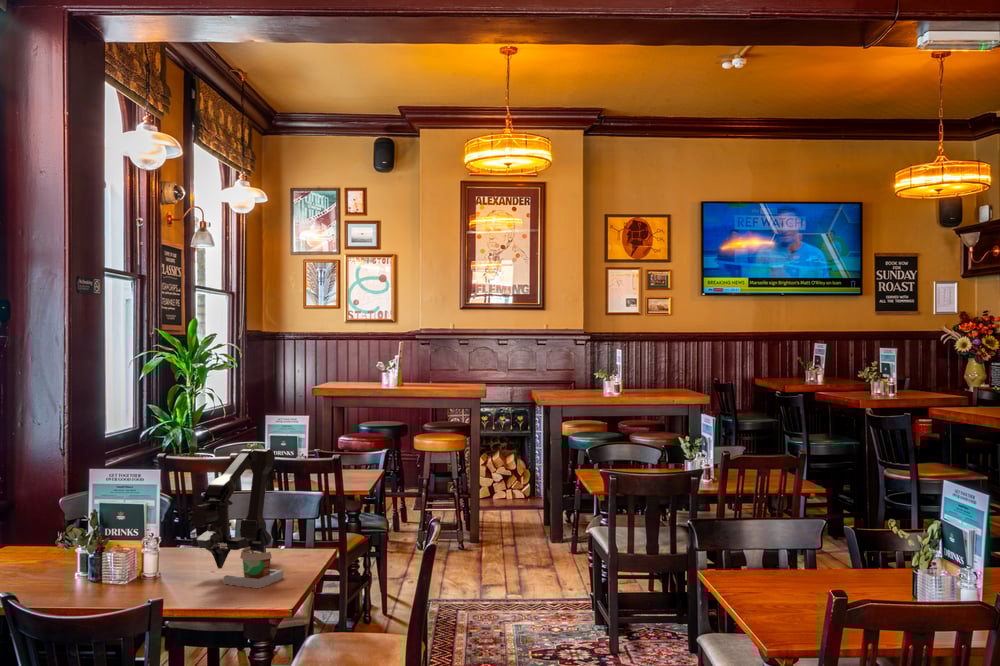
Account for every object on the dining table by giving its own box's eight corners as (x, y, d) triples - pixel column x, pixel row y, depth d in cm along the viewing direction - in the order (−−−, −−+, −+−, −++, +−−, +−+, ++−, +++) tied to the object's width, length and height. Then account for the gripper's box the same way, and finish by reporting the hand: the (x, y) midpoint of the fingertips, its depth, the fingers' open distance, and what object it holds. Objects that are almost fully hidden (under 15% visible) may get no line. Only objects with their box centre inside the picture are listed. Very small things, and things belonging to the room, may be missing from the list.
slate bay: (248, 574, 266) (248, 566, 266) (283, 578, 260) (283, 570, 260) (223, 584, 255) (223, 576, 255) (259, 588, 249) (259, 580, 249)
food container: (232, 581, 258) (232, 550, 258) (249, 576, 263) (248, 546, 263) (255, 587, 250) (255, 555, 250) (271, 583, 255) (271, 551, 255)
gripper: (179, 524, 259) (179, 572, 258) (226, 527, 252) (226, 577, 252) (203, 517, 269) (203, 563, 269) (248, 520, 263) (249, 568, 262)
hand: (220, 568), depth 263 cm, fingers closed
